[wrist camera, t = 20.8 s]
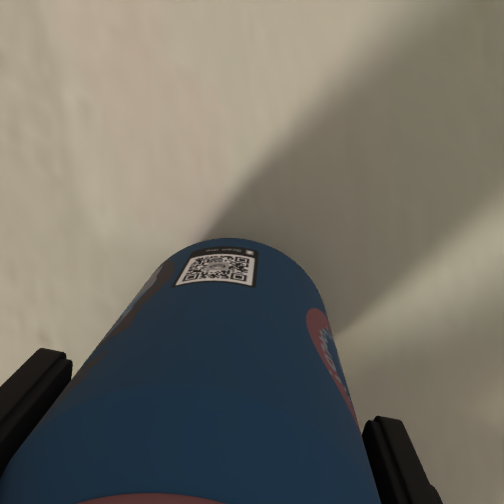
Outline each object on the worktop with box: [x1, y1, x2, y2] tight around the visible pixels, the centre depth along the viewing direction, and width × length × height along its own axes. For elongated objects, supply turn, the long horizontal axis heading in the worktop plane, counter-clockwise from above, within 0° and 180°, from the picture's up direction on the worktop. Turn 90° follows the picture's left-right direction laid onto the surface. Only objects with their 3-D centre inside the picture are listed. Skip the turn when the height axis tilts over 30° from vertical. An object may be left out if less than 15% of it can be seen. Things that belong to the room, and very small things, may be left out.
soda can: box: [0, 238, 381, 504], centre depth 12 cm, size 7×7×12 cm
